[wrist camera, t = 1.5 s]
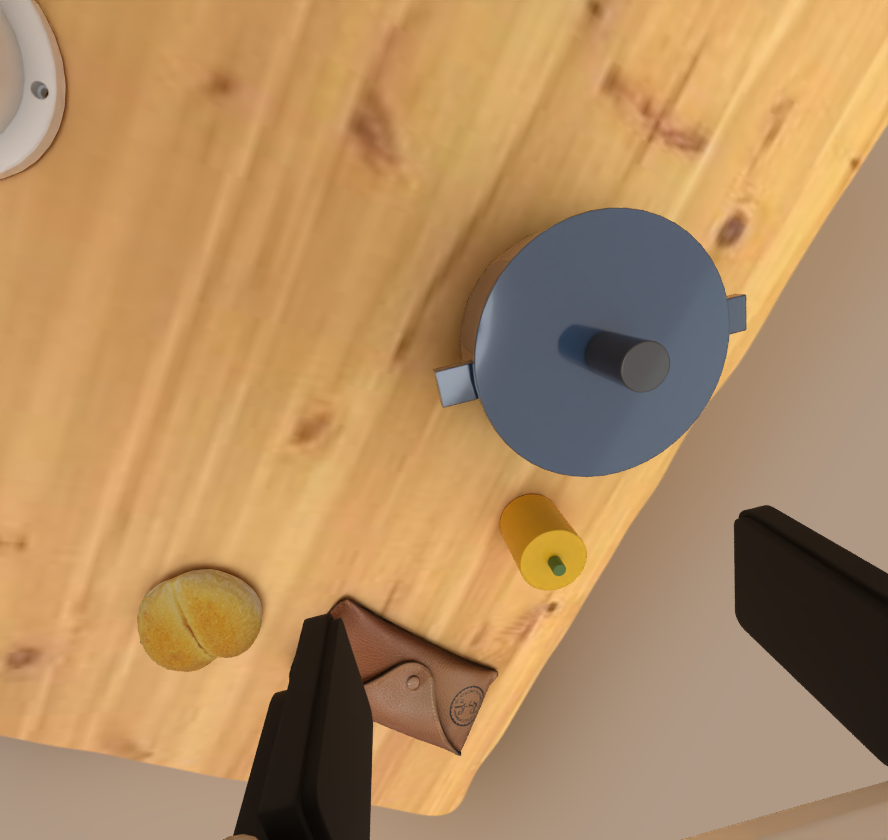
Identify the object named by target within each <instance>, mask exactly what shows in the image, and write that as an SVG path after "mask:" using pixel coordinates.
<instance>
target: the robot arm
mask: <svg viewBox="0 0 888 840" xmlns="http://www.w3.org/2000/svg"><path fill="white" fill-rule="evenodd" d="M65 91H66V82H65V75H64V68H63V61H62V57H61V54H60V51H59V48H58V45H57V42H56V39H55V35H54V33H53V31H52V29H51V27H50V25H49V23H48V21H47V19H46V17H45V15H44V13H43V11H42V9H41V8H40V6H39V5H38V3H37V2H36V0H0V179H3V178H6V177H9V176H11V175H14V174H16V173H19V172H21V171H23V170H24V169H26V168H27V167H29V166H30V165H31V164H33V163H34V162H36V161H37V160H38V159H39V158H40V157H41V156H42V155H43V153H44V152H45V151H46V150H47V149H48V148H49V147H50V145H51V143H52V141H53V140H54V138H55V136H56V134H57V132H58V130H59V128H60V124H61V120H62V116H63V112H64V108H65ZM47 92H48V93H49V94H48V96H47V98H46V93H47ZM734 563H735V614H736V617H737V619H738V622H739V623H740V625H741V626H742V627H743V629H744V630H745V631H746V632H747V633H749V634H750V636H751V637H753V638H754V639H755V640H756V641H757V642H758V643H759V644H760V645H761V646H762V647H763V648H764V649H765V650H766V651H767V652H768V653H769V654H770V655H771V656H772V657H773V658H774V659H775V660H776V661H777V662H778V663H779V664H780V665H782V666H783V667H784V668H785V669H786V670H787V671H788V672H789V673H790V674H791V675H792V676H793V677H794V678H795V679H796V680H797V681H798V682H799V683H800V684H801V685H802V686H803V687H804V688H805V689H806V690H807V691H808V692H809V693H810V694H811V695H813V696H814V697H815V698H816V699H817V700H818V701H819V702H820V703H821V704H822V705H823V706H824V707H825V708H826V709H827V710H828V711H829V712H830V713H831V714H832V715H833V716H834V717H835V718H836V719H838V721H839V722H840V723H842V724H843V725H844V726H845V727H846V728H847V729H848V730H849V731H850V732H851V733H852V734H853V735H854V736H855V737H856V738H857V739H858V740H859V741H860V742H861V743H862V744H863V745H865V747H866V748H867V749H868V750H869V751H870V752H872V753H873V754H874V755H875V756H876V757H877V758H878V759H879V760H880V761H881V762H882V763H883V764H885V765H887V766H888V574H887V573H886V572H884V571H882V570H881V569H879V568H877V567H875V566H874V565H872V564H870V563H869V562H867V561H865V560H863V559H862V558H860V557H858V556H857V555H855V554H853V553H851V552H850V551H848V550H846V549H844V548H843V547H841V546H839V545H837V544H836V543H834V542H832V541H831V540H829V539H827V538H825V537H824V536H822V535H820V534H818V533H817V532H815V531H813V530H812V529H810V528H808V527H806V526H805V525H803V524H801V523H800V522H798V521H796V520H794V519H793V518H791V517H789V516H787V515H786V514H784V513H782V512H781V511H779V510H777V509H775V508H773V507H771V506H767V505H765V506H760V507H756V508H752V509H748V510H744V511H742V512H741V513H740V515H739V519H737V520H735V522H734ZM372 743H373V718H372V711H371V707H370V703H369V700H368V697H367V694H366V691H365V688H364V685H363V682H362V679H361V675H360V672H359V669H358V666H357V663H356V660H355V657H354V654H353V651H352V647H351V644H350V641H349V638H348V635H347V632H346V629H345V626H344V623H343V620H342V618H336V619H334V617H333V615H332V614H331V613H328V614H324V615H320V616H316V617H312V618H308V619H305V620H304V623H303V627H302V631H301V635H300V639H299V643H298V648H297V652H296V656H295V660H294V664H293V668H292V672H291V676H290V680H289V685H288V689H287V690H285V691H281V692H277V693H275V694H274V695H273V697H272V699H271V702H270V704H269V708H268V712H267V715H266V719H265V722H264V726H263V730H262V733H261V737H260V740H259V744H258V748H257V751H256V755H255V759H254V762H253V766H252V769H251V773H250V777H249V780H248V784H247V787H246V791H245V795H244V799H243V802H242V806H241V809H240V813H239V816H238V820H237V824H236V828H235V831H234V834H233V836H230V837H227V838H226V839H223V840H370V811H371V808H370V807H371V777H372ZM682 840H888V781H886V782H883V783H879V784H876V785H872V786H869V787H865V788H861V789H858V790H855V791H851V792H847V793H844V794H840V795H836V796H833V797H830V798H826V799H822V800H819V801H815V802H812V803H808V804H804V805H801V806H797V807H794V808H791V809H787V810H783V811H780V812H776V813H773V814H769V815H766V816H762V817H759V818H756V819H752V820H748V821H745V822H741V823H738V824H735V825H731V826H727V827H724V828H721V829H717V830H713V831H710V832H707V833H703V834H700V835H696V836H693V837H689V838H686V839H682Z"/></svg>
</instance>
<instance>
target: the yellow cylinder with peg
mask: <svg viewBox="0 0 888 840" xmlns="http://www.w3.org/2000/svg"><path fill="white" fill-rule="evenodd" d="M500 530H501V533H502V536H503V538H504V540H505V542H506V544H507V546H508V548H509V550H510V552H511V554H512V556H513V558H514V560H515V562H516V564H517V566H518V568H519V570H520V572H521V574H522V576H523V578H524V579H525V581H526V582H527V583H528V584H530V585H531V586H533V587H535V588H537V589H540V590H556V589H560V588H562V587H565V586H567V585H568V584H570V583H571V582H573V581H574V580H575V579H576V578H577V577H578V576H579V575H580V573H581V572H582V570H583V568H584V566H585V563H586V558H587V552H586V547H585V545H584V543H583V541H582V540H581V538H580V537H579V536H578V535H577V533H576V532H575V531H574V530H573V528H572V527H571V526H570V524H569V523H568V522H567V521H566V519H565V518H564V517H563V515H562V514H561V513H560V512H559V510H558V509H557V508H556V507H555V505H554V504H553V503H552V502H551V501H550V500H549V499H548V498H546V497H544V496H541V495H537V494H528V495H523V496H520V497H518V498H516V499H515V500H513V501H512V502H511V503H509V504H508V505H507V507H506V508H505V509H504V511H503V513H502V515H501V519H500Z"/></svg>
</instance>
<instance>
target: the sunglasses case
mask: <svg viewBox="0 0 888 840" xmlns="http://www.w3.org/2000/svg"><path fill="white" fill-rule="evenodd" d="M329 613H331V614H332V615H333V617H334V619H336V618H342V620H343V623H344V626H345V629H346V632H347V635H348V638H349V641H350V644H351V647H352V651H353V654H354V657H355V660H356V663H357V666H358V669H359V672H360V675H361V679H362V682H363V685H364V688H365V691H366V694H367V697H368V700H369V703H370V707H371V711H372V718H373V721H374V722H377V723H379V724H381V725H384V726H386V727H389V728H391V729H394V730H396V731H398V732H401V733H403V734H406V735H408V736H411V737H414V738H416V739H419V740H421V741H424V742H427V743H430V744H433V745H436V746H438V747H441V748H444V749H446V750H448V751H451V752H452V753H454V754H456V755H458V756H461V750H462V748H463V746H464V744H465V741H466V739H467V736H468V735H469V732H470V730H471V727H472V725H473V723H474V721H475V718H476V716H477V714H478V711H479V709H480V707H481V704H482V702H483V699H484V697H485V695H486V692H487V690H488V688H489V685H491V683H492V682H493V681H494V680H495V679H496V677H497V676H498V672H497V671H496V670H493V669H490V668H487V667H484V666H481V665H478V664H475V663H473V662H470V661H468V660H465V659H463V658H461V657H458V656H456V655H454V654H452V653H450V652H448V651H446V650H443V649H441V648H439V647H437V646H435V645H433V644H431V643H429V642H427V641H425V640H423V639H421V638H419V637H417V636H415V635H413V634H411V633H410V632H408V631H406V630H404V629H402V628H400V627H398V626H396V625H395V624H393V623H391V622H389V621H387V620H385V619H383V618H381V617H380V616H378V615H376V614H374V613H373V612H371V611H370V610H368V609H366V608H364V607H362V606H360V605H359V604H357V603H355V602H353V601H351V600H349V599H345V600H342V601H340V602H338V603H337V604H336V605H335V606H334V607H333V608H332V610H331V611H330V612H329ZM294 660H295V658H294ZM293 664H294V661H293V663H292V666H291V670H290V673H289V680H290V676H291V672H292V668H293Z"/></svg>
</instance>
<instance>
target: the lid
mask: <svg viewBox="0 0 888 840" xmlns="http://www.w3.org/2000/svg"><path fill="white" fill-rule="evenodd" d="M729 326H730V321H729V309H728V302H727V297H726V293H725V288H724V286H723V283H722V280H721V277H720V275H719V272H718V270H717V268H716V267H715V265H714V263H713V261H712V259H711V258H710V256H709V255H708V254H707V252H706V251H705V249H704V248H703V247H702V245H701V244H700V243H699V242H698V241H697V240H696V239H695V238H694V237H693V236H692V235H691V234H690V233H688V232H687V231H686V230H684V229H683V228H681V227H680V226H679V225H677V224H676V223H674V222H672V221H670V220H668V219H666V218H664V217H662V216H660V215H657V214H654V213H650V212H647V211H644V210H638V209H631V208H604V209H598V210H591V211H587V212H584V213H581V214H578V215H574V216H571V217H568V218H566V219H564V220H562V221H559V222H557V223H555V224H553V225H551V226H549V227H548V228H546V229H545V230H543V231H542V232H540V233H539V234H537V235H535V236H534V237H533V238H532V239H531V240H529V241H528V242H527V243H526V244H525V245H524V246H522V247H521V248H520V249H519V250H518V251H517V252H516V253H515V254H514V256H513V257H512V258H511V259H510V260H509V261H508V262H507V263H506V265H505V266H504V268H503V269H502V270H501V272H500V273H499V275H498V276H497V277H496V279H495V281H494V283H493V284H492V286H491V288H490V290H489V292H488V294H487V295H486V298H485V301H484V303H483V306H482V308H481V311H480V313H479V317H478V321H477V325H476V329H475V334H474V343H473V373H474V381H475V386H476V390H477V393H478V397H479V401H480V403H481V405H482V408H483V410H484V412H485V415H486V417H487V418H488V420H489V421H490V423H491V425H492V426H493V428H494V430H495V431H496V432H497V433H498V435H499V436H500V437H501V438H502V439H503V441H504V442H505V443H506V444H507V445H508V446H509V447H510V448H511V449H513V450H514V451H515V452H516V453H517V454H518V455H520V456H521V457H523V458H524V459H526V460H527V461H529V462H530V463H532V464H534V465H536V466H538V467H541V468H543V469H545V470H548V471H551V472H555V473H558V474H563V475H569V476H580V477H593V476H604V475H609V474H613V473H618V472H621V471H624V470H627V469H630V468H633V467H636V466H638V465H640V464H642V463H644V462H646V461H648V460H650V459H652V458H653V457H655V456H656V455H658V454H660V453H661V452H663V451H664V450H665V449H667V448H668V447H669V446H671V445H672V444H673V443H674V442H676V441H677V440H678V439H679V438H680V437H681V436H682V435H683V434H684V433H685V432H686V431H687V430H688V429H689V428H690V426H691V425H692V424H693V423H694V422H695V420H696V419H697V418H698V417H699V415H700V414H701V412H702V411H703V409H704V408H705V406H706V405H707V403H708V401H709V400H710V398H711V396H712V394H713V392H714V390H715V388H716V386H717V383H718V381H719V378H720V376H721V373H722V370H723V366H724V363H725V359H726V355H727V349H728V342H729Z"/></svg>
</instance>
